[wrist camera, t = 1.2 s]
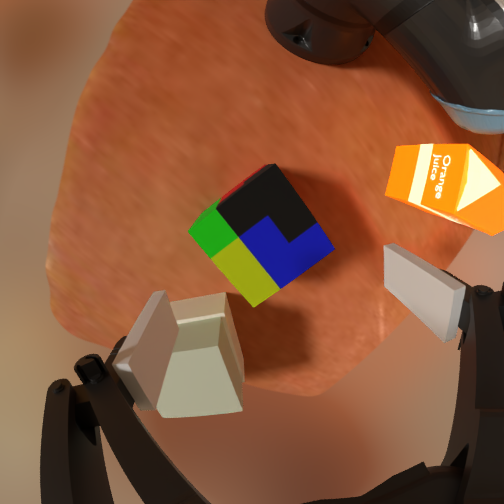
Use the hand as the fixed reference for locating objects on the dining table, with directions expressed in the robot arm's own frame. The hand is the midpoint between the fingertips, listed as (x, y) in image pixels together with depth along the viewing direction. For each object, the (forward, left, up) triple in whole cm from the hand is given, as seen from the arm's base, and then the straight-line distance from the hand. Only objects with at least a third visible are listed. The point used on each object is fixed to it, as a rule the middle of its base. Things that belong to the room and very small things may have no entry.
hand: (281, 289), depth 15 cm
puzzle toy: (0, 0, -21) cm, 21 cm away
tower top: (+12, +15, -15) cm, 24 cm away
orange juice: (-24, -2, -21) cm, 32 cm away
